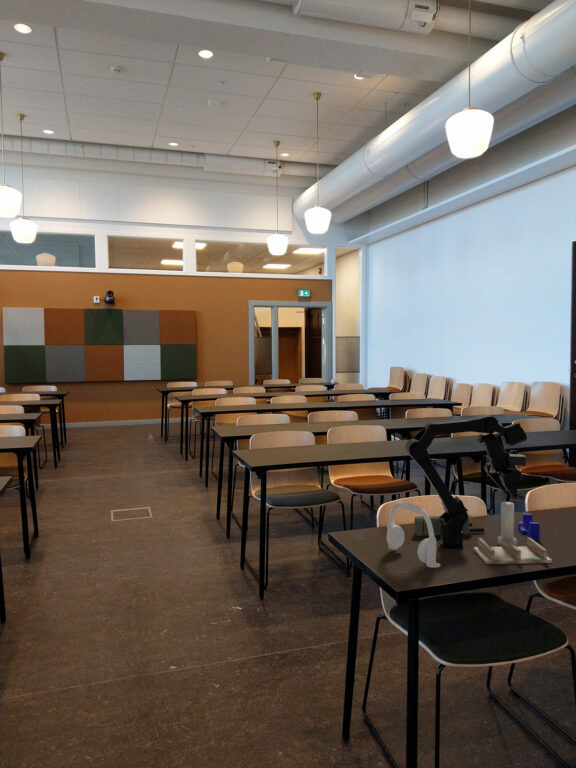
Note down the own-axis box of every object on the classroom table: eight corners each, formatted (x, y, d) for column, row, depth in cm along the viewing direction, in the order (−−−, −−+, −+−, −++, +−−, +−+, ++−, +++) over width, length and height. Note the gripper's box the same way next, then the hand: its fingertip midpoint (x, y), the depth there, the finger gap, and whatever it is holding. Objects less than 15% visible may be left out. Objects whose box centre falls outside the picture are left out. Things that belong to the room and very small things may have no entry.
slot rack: (486, 563, 172) (486, 551, 172) (473, 550, 184) (473, 538, 184) (551, 562, 172) (551, 550, 171) (534, 549, 184) (534, 537, 183)
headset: (382, 551, 184) (382, 498, 183) (399, 547, 187) (399, 495, 186) (424, 572, 166) (424, 513, 165) (442, 567, 170) (442, 509, 169)
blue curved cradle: (518, 529, 205) (518, 513, 205) (531, 529, 204) (531, 513, 204) (525, 540, 193) (525, 523, 193) (539, 540, 192) (539, 523, 192)
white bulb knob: (501, 547, 186) (502, 506, 185) (495, 541, 192) (495, 501, 191) (519, 547, 186) (520, 505, 185) (512, 541, 192) (512, 500, 191)
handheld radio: (413, 533, 202) (482, 531, 203) (416, 537, 199) (485, 535, 200) (414, 515, 201) (482, 513, 202) (416, 518, 198) (486, 516, 199)
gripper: (531, 448, 177) (545, 494, 178) (508, 439, 196) (521, 480, 197) (497, 459, 178) (512, 505, 178) (477, 449, 196) (491, 490, 197)
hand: (509, 494), depth 188 cm, fingers open, 9 cm apart
